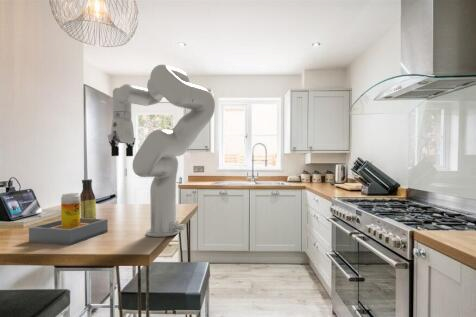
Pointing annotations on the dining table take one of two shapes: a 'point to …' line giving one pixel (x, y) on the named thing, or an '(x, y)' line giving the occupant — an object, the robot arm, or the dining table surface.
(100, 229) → the walled box
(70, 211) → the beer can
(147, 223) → the dining table surface
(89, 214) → the sauce bottle
